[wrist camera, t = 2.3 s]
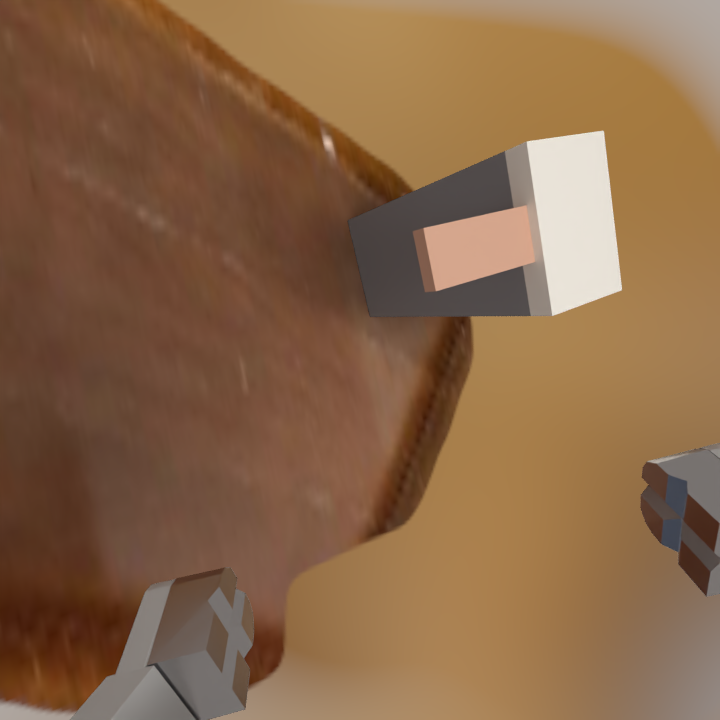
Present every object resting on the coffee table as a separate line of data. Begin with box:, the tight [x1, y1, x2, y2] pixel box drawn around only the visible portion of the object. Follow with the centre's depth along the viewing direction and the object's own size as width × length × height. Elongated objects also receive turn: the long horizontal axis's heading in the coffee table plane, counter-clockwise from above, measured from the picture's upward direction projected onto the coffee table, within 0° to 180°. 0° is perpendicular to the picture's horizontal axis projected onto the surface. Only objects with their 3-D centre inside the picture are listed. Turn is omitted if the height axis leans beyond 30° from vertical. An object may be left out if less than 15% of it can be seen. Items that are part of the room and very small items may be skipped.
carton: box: [348, 151, 531, 317], centre depth 47 cm, size 8×12×26 cm, turn 15°
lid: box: [413, 131, 622, 316], centre depth 33 cm, size 17×12×2 cm
